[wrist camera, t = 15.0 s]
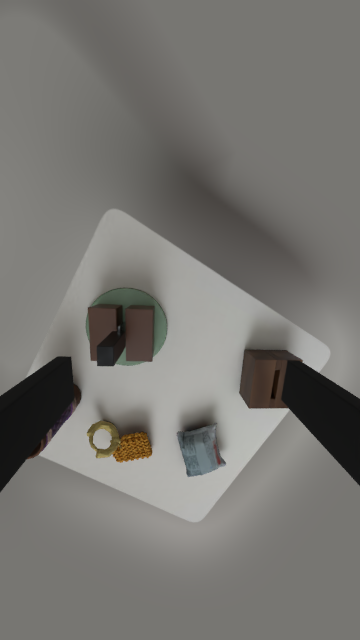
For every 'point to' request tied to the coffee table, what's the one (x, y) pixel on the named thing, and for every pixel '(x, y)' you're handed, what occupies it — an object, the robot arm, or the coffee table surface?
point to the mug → (57, 424)
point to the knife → (112, 347)
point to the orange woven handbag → (121, 443)
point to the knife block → (264, 377)
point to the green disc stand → (127, 324)
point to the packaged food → (200, 450)
